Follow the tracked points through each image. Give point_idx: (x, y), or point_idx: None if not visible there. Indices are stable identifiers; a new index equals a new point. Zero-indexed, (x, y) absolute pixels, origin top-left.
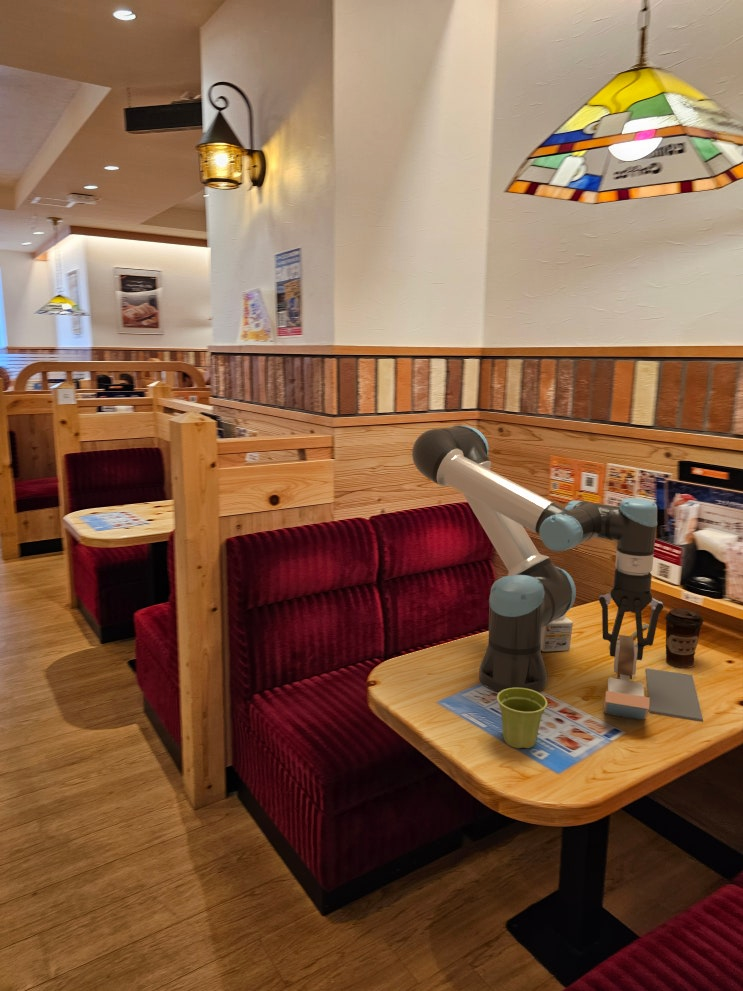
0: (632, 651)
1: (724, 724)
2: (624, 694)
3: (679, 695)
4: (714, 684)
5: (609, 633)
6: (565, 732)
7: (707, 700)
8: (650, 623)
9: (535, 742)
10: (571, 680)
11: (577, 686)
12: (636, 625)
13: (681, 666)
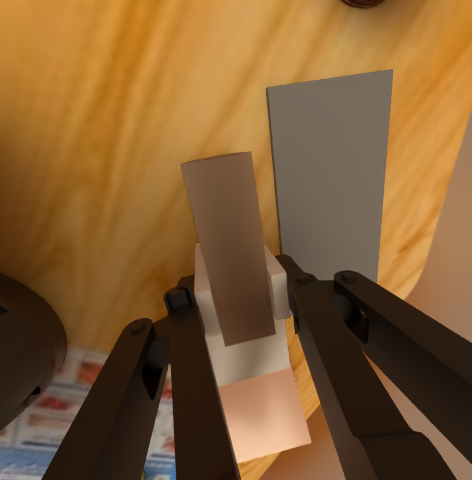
0: (267, 319)
1: (405, 283)
2: (262, 455)
3: (346, 222)
4: (434, 95)
5: (160, 341)
6: (171, 431)
7: (397, 201)
8: (429, 407)
9: (144, 476)
10: (101, 266)
11: (127, 287)
12: (328, 422)
13: (372, 4)
